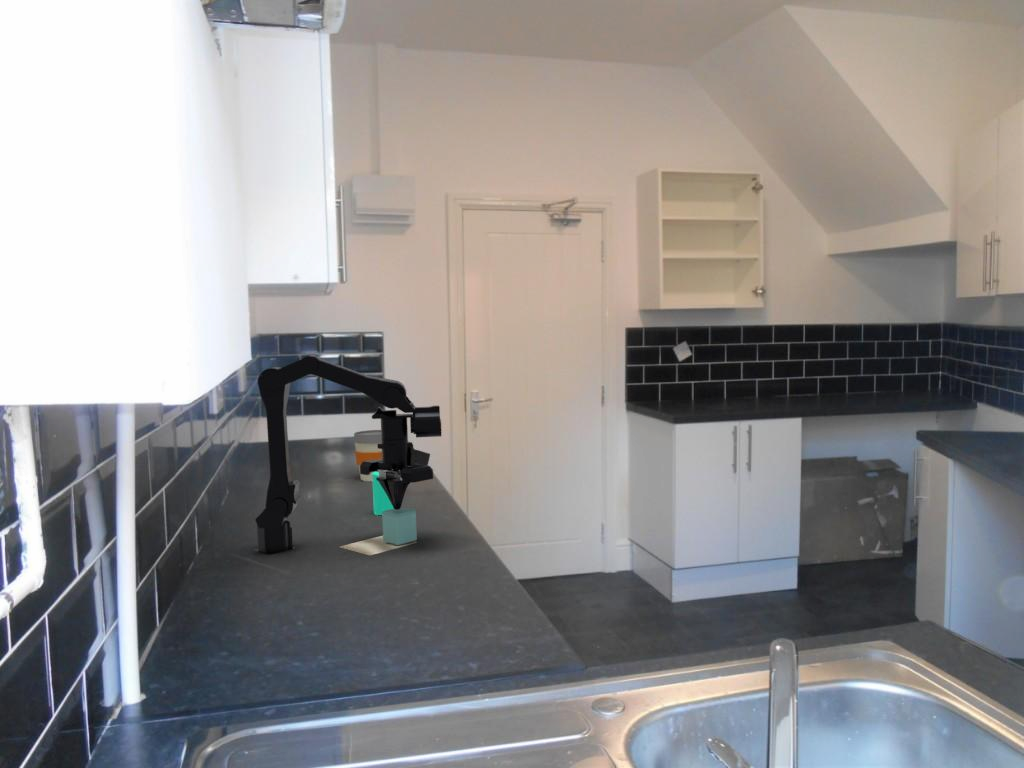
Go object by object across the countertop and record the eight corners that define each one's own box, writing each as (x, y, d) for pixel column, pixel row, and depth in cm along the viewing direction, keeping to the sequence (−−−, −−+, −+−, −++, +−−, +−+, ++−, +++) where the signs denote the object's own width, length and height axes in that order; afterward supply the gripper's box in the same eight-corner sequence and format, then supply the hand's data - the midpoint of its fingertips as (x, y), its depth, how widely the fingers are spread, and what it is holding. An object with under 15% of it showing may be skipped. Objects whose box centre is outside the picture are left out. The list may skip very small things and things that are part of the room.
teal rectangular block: (398, 545, 174) (397, 514, 173) (383, 541, 177) (381, 511, 177) (416, 539, 177) (415, 510, 177) (401, 536, 181) (400, 507, 181)
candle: (368, 514, 208) (367, 468, 208) (383, 509, 214) (381, 464, 213) (387, 516, 206) (386, 469, 205) (401, 511, 211) (400, 465, 210)
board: (370, 558, 168) (369, 555, 168) (338, 549, 175) (338, 546, 175) (417, 544, 177) (417, 542, 177) (386, 537, 185) (386, 534, 185)
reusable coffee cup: (351, 477, 262) (349, 431, 261) (388, 473, 268) (386, 428, 267) (360, 484, 251) (358, 436, 250) (399, 479, 256) (398, 432, 255)
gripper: (451, 437, 176) (453, 508, 177) (396, 431, 188) (399, 497, 189) (411, 443, 168) (414, 517, 169) (357, 437, 180) (360, 506, 181)
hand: (397, 509), depth 177 cm, fingers closed
